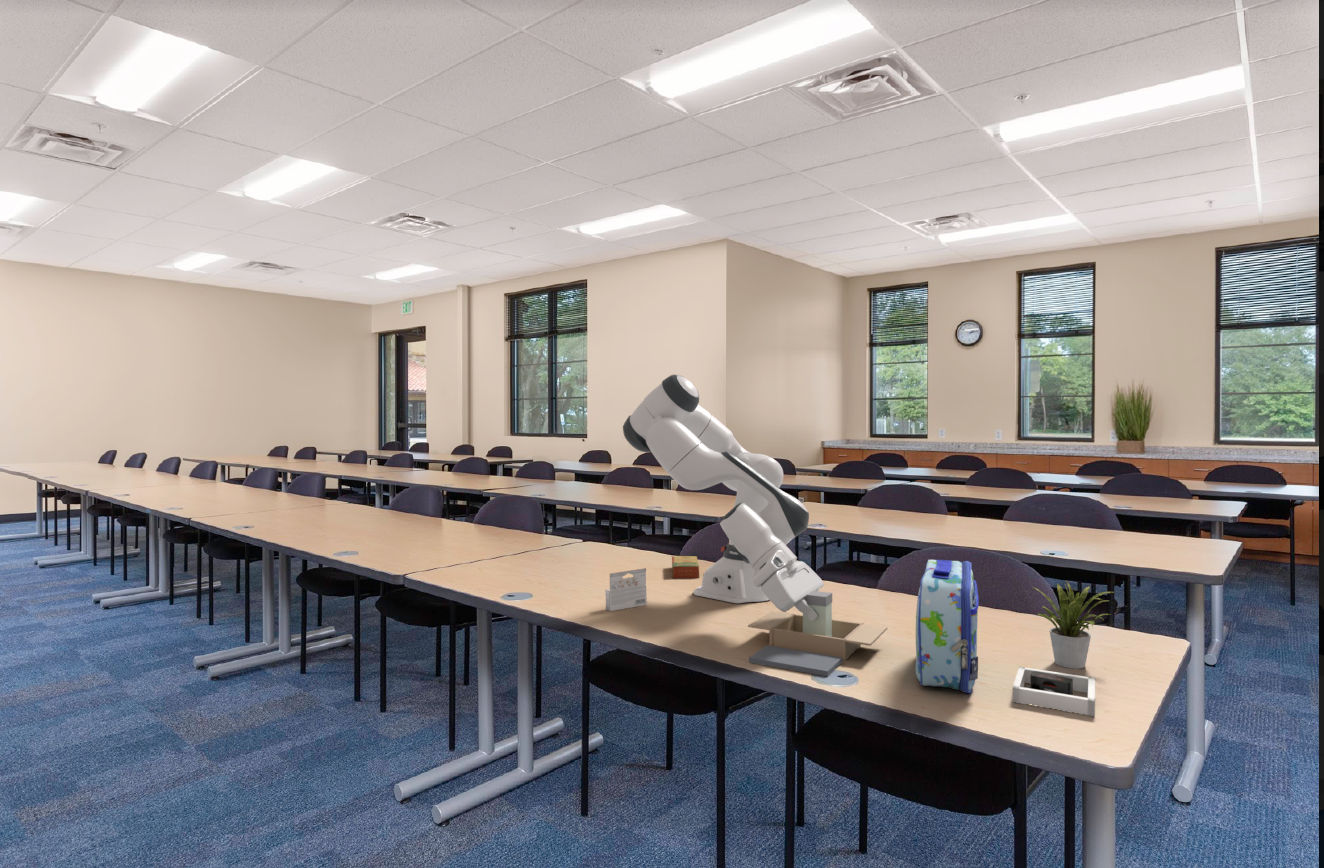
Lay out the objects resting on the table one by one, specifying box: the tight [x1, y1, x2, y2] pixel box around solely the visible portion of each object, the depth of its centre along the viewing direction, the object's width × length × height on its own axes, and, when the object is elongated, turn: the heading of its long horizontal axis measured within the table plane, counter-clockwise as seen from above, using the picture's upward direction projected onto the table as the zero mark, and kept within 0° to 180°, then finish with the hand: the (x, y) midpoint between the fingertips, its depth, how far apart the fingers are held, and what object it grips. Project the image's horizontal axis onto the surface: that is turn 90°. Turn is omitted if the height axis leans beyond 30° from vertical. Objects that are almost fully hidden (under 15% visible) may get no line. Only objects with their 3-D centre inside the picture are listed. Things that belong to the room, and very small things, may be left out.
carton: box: [671, 555, 700, 579], centre depth 229 cm, size 8×16×4 cm, turn 0°
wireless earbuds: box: [1024, 671, 1074, 696], centre depth 127 cm, size 5×7×3 cm, turn 49°
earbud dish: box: [1011, 666, 1096, 717], centre depth 126 cm, size 12×12×2 cm
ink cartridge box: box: [604, 567, 648, 612], centre depth 188 cm, size 2×11×10 cm, turn 123°
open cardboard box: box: [747, 610, 888, 661], centre depth 156 cm, size 26×14×4 cm, turn 59°
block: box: [802, 590, 833, 637], centre depth 156 cm, size 5×4×11 cm
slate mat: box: [748, 644, 843, 677], centre depth 145 cm, size 16×9×1 cm, turn 59°
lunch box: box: [915, 559, 980, 694], centre depth 137 cm, size 26×11×21 cm, turn 157°
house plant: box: [1032, 580, 1114, 670], centre depth 141 cm, size 14×14×16 cm
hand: (820, 615), depth 155 cm, fingers closed on block, 4 cm apart
